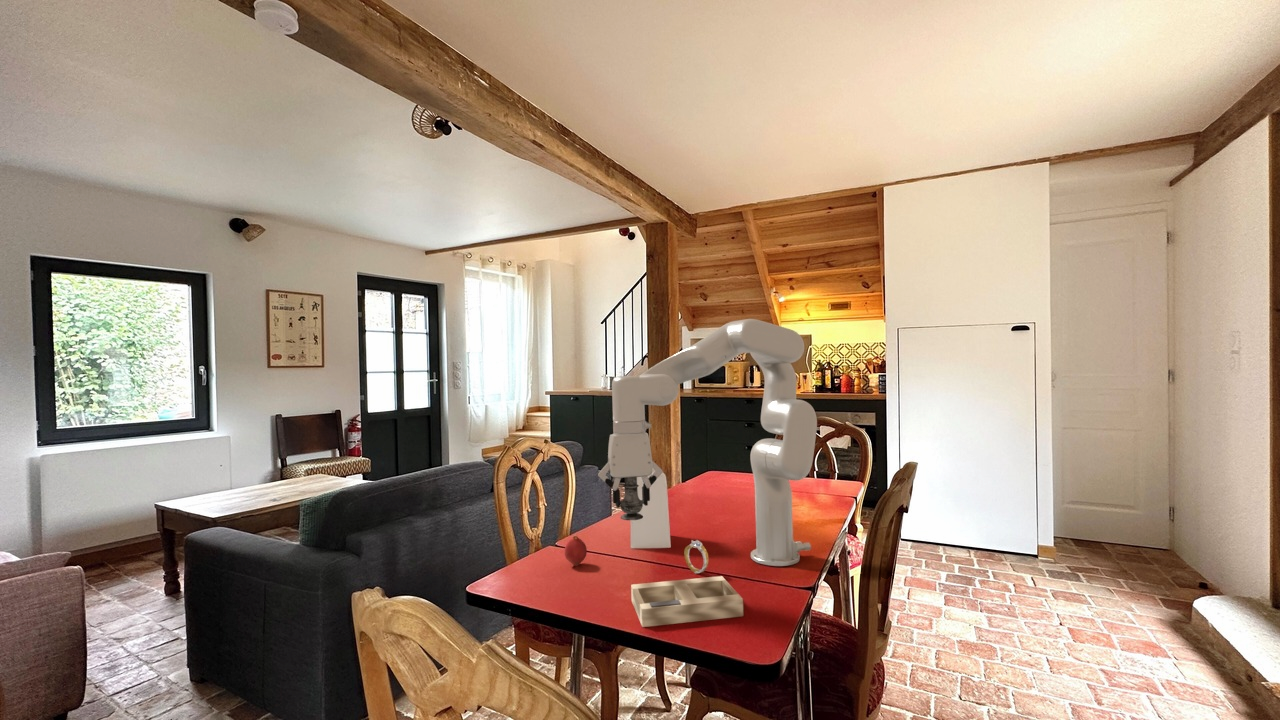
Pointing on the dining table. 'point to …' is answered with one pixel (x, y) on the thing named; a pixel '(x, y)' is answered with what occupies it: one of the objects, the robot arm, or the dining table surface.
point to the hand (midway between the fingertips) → (631, 504)
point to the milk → (652, 517)
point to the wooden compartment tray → (685, 601)
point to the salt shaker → (631, 500)
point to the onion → (575, 551)
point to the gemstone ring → (704, 554)
